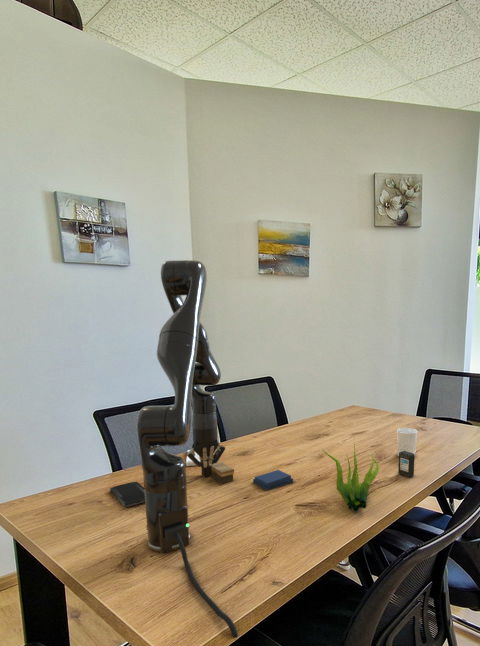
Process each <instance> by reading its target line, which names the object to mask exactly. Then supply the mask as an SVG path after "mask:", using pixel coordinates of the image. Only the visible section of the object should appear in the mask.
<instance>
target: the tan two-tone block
mask: <svg viewBox="0 0 480 646" xmlns="http://www.w3.org/2000/svg"><path fill="white" fill-rule="evenodd" d="M234 474H235V468H233V467H231V466H230V465H228V464H227V463H225V462H223V461H222V460H220V459H219V460H218V462H217V463H214V464H213V465H212V474H211V475H210V477H212V478H213V479H214V480H216V481H217V482H218V483H220V484H225V483H229V482H234Z"/></svg>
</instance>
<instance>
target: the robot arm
mask: <svg viewBox="0 0 480 646" xmlns="http://www.w3.org/2000/svg"><path fill="white" fill-rule="evenodd" d="M160 282H161V285H162V288H163V291H164V294H165V296H166V299H167V302H168V304H169V306H170V309H171V312H172V315H171V316H170V317H169V318H168V319H167V320H166V322H165V323H164V324H163V325H162V327H161V328H160V331H159V335H158V340H157V346H156V347H157V348H156V358H157V361H158V363H159V365H160V367H161V369H162V370H163V372H164V374H165V376H166V377H167V378H168V380H169V382H170V385H171V387H172V389H173V392H174V404H173V405H146V406H143V407H142V408H141V409H140V410H139V412H138V414H137V417H136V435H137V436H136V437H137V442H138V447H139V448H138V449H139V457H140V466H141V469H142V476H143V488H144V493H145V502H144V505H145V517H146V532H147V546H148V547H147V548H148V549H150V550H152V551H154V552H160V553H161V554H165V553H168V552H169V553H170V552H173V551H175V550H177V549H180V553H181V557H182V561H183V564H184V567H185V571H186V574H187V576H188V578H189V580H190V582H191V584H192V586H193V587H194V589H195V590H196V592H197V593H198V595H199V596H200V597H201V598H202V600H204V601H205V603H206V604H207V605H208V606H209V607H210V608H211V609H212V610H213V612H214V613H215V614H216V615H217V616H218V617H219V618H221V620H222V621H224V622H225V623H226V625H227V626H228V628H229V630H230V633H231V636H232V637H233V639H234V638H235V639H237V638H238V637H239V634H238V631H237V627H236V625H235V624H234V622H233V620H232V619H231V618H230V616H228V615H227V614H226V613H225V612H224V611H222V610H221V609H220V608H219V606H218V605H217V604H216V603H215V602H214V601H213V600H212V599H211V598H210V597H209V596H208V594H207V593H206V591H204V589H203V588H202V587H201V585H200V584H199V582H198V581H197V579H196V577H195V575H194V573H193V570H192V568H191V565H190V562H189V558H188V554H187V551H186V546H189V545H190V540H191V532H190V520H189V503H188V500H189V499H188V485H187V466H186V460H185V459H184V458H183V457H181V456H179V455H178V454H177V455H176V454H174V453H171V452H169V451H167V450H166V449H164V448H163V447H178V446H184V445H186V443H187V442H188V440H189V437H190V432H191V426H192V442H193V443H192V445H191V449H189V450H190V451H189V452H187V451H186V452H185V456H186V457H187V456H188V457H189V458H190V459H191V460H192V461H193V462H194V463H195V464H196V465H195V466H197V467H198V468H201V476H202V477H203V478H205V479H208V478H211V476H210V475H211V474H212V465H213V464H214V463H217V462H218V460H220V459H221V457H222V456H223V454H224V453H225V450H226V446H224V445H221V444H220V442H219V440H218V438H219V436H218V415H217V404H216V395H215V394H214V393H213V392H210V391H206V390H203V389H202V386H209V387H210V386H212V387H213V386H216V385H218V384H219V383H220V381H221V377H222V372H221V368H220V366H219V364H218V362H217V360H216V359H215V357H214V355H213V353H212V351H211V347H210V341H209V337H208V332H207V331H206V329H205V327H204V325H203V324H202V323H201V314H202V308H203V304H204V300H205V295H206V291H207V290H206V289H207V284H208V283H207V282H208V275H207V269H206V266H205V264H204V263H203V262H202V261H199V260H191V259H188V260H187V259H185V260H180V259H179V260H178V259H176V260H175V259H173V260H165V261H164V262H163V263H162V264H161V268H160ZM182 296H183V297H184V296H185V299H184V300H183V297H182ZM195 452H196V453H197V454H198V455H199V458H200V462H199V461H198V460H197V459H196V458H195V457H194V456H195Z"/></svg>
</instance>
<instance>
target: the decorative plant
mask: <svg viewBox="0 0 480 646" xmlns="http://www.w3.org/2000/svg"><path fill="white" fill-rule="evenodd" d="M353 437H354V439H356V438H355V436H353ZM321 449H322V451H323V453H324V454H325V455H326V456H328V457H329V458H330V459H332V460H333V461H334V462H335V467H336V490H337V492H338V493H339V494H340V495H341V497H342V499H343V501H344V502H345V504H346V505H347V508H348V509H349V510H352V511H353V512H356V513H357V512H359V510H360V509H366V508H367V501H368V495H369V492H370V491H369V490H370V486H371V484H372V483H373V482H374V481H375V479H376V477H377V475H378V473H379V471H380V467H379V462H378V461H377V460H375V459H374V456H375V454H376V453H377V452H376V451H375V452H373V454H372V456H371V460H372V463H371V464H370V467H369V469H368V470H367V472H366V473H365V475H364V479H363V480H362V483H360V481H359V480H360V478H359V467H358V462H357V457H356V443H354V446H353V466H354V467H353V472H352V467H351V463H350V459H349V454H348V453H347V454H346V457H347V463H348V473H347V480H346V483H344V480H343V479H344V478H343V477H344V476H343V468H342V465H341V463H340V460H339V459H337V458H336V457H334V456H333V455H331V454H329V453H328V452H326V450H325V449H324V448H323V447H321ZM374 464H375V467H374ZM373 467H374V469H373Z"/></svg>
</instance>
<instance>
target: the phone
mask: <svg viewBox="0 0 480 646" xmlns="http://www.w3.org/2000/svg"><path fill="white" fill-rule="evenodd" d="M109 490H110V493H111V495H113V496H114V498H115V499H116V500H117V501H118V502H119V503H120V504H121V505H122V506H123V508H130V507H134V506H137V505H141V504H145V493H144V486H142V485H141V483H139V482H138V481H130V482H126V483H123V484H119V485H115V486H114V485H113V486H111V487H110V488H109Z"/></svg>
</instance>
